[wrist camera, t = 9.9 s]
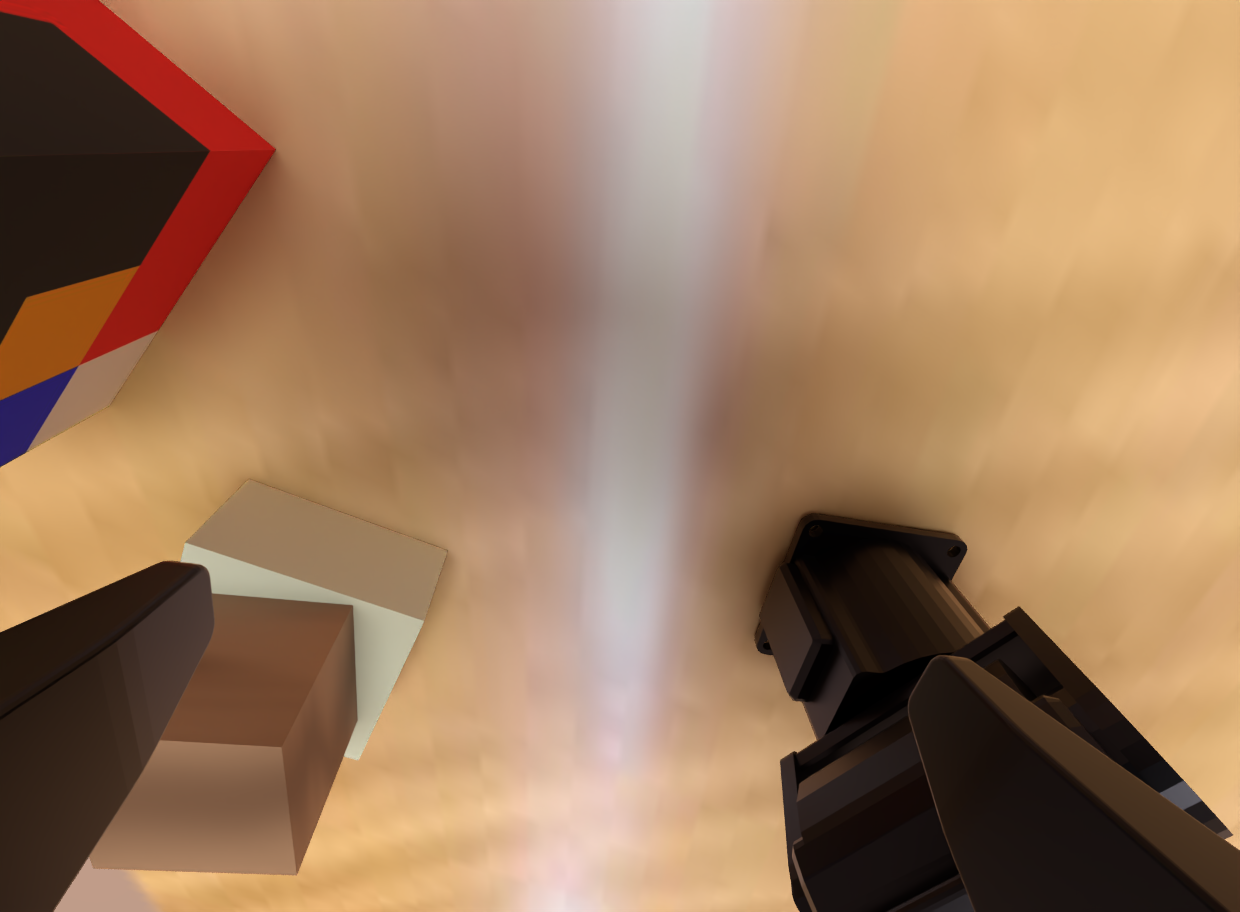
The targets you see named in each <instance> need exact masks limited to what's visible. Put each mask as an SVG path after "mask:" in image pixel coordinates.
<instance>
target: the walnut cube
mask: <svg viewBox="0 0 1240 912" xmlns="http://www.w3.org/2000/svg"><path fill="white" fill-rule="evenodd" d="M212 598H213V607H214V616H215V626H214V631H213V635H212V638H211V640H210V643H209V645H208V647H207V649H206V651H205V653H204V655H203V657H202V659H201V660H200V662H199V664H198V666H197V668H196V670H195V672H194V674H193V676H192V678H191V680H190V682H189V684H188V686H187V688H186V690H185V692H184V694H183V696H182V698H181V700H180V702H179V704H178V706H177V708H176V710H175V712H174V713H173V715H172V717H171V719H170V721H169V723H168V725H167V727H166V729H165V731H164V733H163V735H162V737H161V739H160V741H159V743H158V745H157V747H156V749H155V751H154V752H153V754H152V756H151V758H150V760H149V762H148V764H147V765H146V767H145V769H144V771H143V773H142V774H141V776H140V777H139V779H138V781H137V782H136V784H135V786H134V787H133V789H132V791H131V792H130V794H129V795H128V797H127V798H126V800H125V802H124V803H123V805H122V806H121V808H120V809H119V811H118V812H117V814H116V816H115V817H114V819H113V820H112V822H111V823H110V825H109V826H108V828H107V829H106V831H105V833H104V834H103V836H102V837H101V839H100V840H99V842H98V843H97V845H96V847H95V848H94V850H93V851H92V853H91V854H90V856H89V857H90V860H91V863H92V866H93V868H96V869H125V870H154V871H183V872H212V873H241V874H270V875H297V874H298V871H299V868H300V866H301V863H302V861H303V858H304V856H305V853H306V851H307V848H308V846H309V843H310V840H311V838H312V835H313V833H314V830H315V828H316V825H317V823H318V820H319V818H320V815H321V812H322V810H323V807H324V805H325V802H326V800H327V797H328V795H329V792H330V790H331V787H332V784H333V782H334V779H335V777H336V774H337V772H338V769H339V767H340V764H341V762H342V759H343V756H344V754H345V751H346V749H347V746H348V744H349V741H350V739H351V736H352V734H353V731H354V728H355V726H356V723H357V721H358V717H357V692H356V666H355V641H354V616H353V605H345V604H333V603H321V602H310V601H298V600H286V599H274V598H262V597H250V596H238V595H226V594H214V593H212Z"/></svg>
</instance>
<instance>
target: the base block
mask: <svg viewBox="0 0 1240 912" xmlns="http://www.w3.org/2000/svg"><path fill="white" fill-rule="evenodd" d="M446 554H447V550H445V549H442V548H439V547H436V546H434V545H431V544H428V543H425V542H422V541H420V540H417V539H414V538H411V537H409V536H406V535H403V534H400V533H397V532H395V531H392V530H389V529H386V528H384V527H381V526H378V525H375V524H373V523H370V522H367V521H364V520H361V519H359V518H356V517H353V516H350V515H348V514H345V513H342V512H339V511H336V510H334V509H331V508H328V507H325V506H323V505H320V504H317V503H314V502H312V501H309V500H306V499H303V498H300V497H298V496H295V495H292V494H289V493H287V492H284V491H281V490H278V489H275V488H273V487H270V486H267V485H264V484H262V483H259V482H256V481H253V480H251V479H248V480H247V481H246V482H245V483H244V484H243V485H242V486H241V487H240V488H239V489H238V490H237V491H236V492H235V493H234V494H233V495H232V496H231V497H230V498H229V499H228V500H227V501H226V502H225V503H224V504H223V505H222V506H221V507H220V508H219V509H218V510H217V511H216V512H215V513H214V514H213V515H212V516H211V517H210V518H209V519H208V520H207V521H206V522H205V523H204V524H203V525H202V526H201V527H200V528H199V529H198V530H197V531H196V532H195V533H194V534H193V535H192V536H191V537H190V538H189V539H188V540H187V541H186V542H185V545H184V549H183V553H182V557H181V561H180V562H186V563H194V564H200V565H203V566H205V567H206V568H207V570H208V571H209V574H210V580H211V589H212V593H214V594H226V595H238V596H250V597H262V598H274V599H286V600H298V601H310V602H321V603H333V604H345V605H353V616H354V641H355V666H356V692H357V717H358V721H357V723H356V726H355V728H354V731H353V734H352V736H351V739H350V741H349V744H348V746H347V749H346V751H345V754H344V757H347V758H351V759H355V760H359V758H360V756H361V754H362V752H363V750H364V748H365V746H366V744H367V741H368V739H369V737H370V735H371V733H372V731H373V729H374V727H375V724H376V722H377V720H378V718H379V716H380V714H381V712H382V710H383V708H384V705H385V703H386V701H387V699H388V697H389V695H390V693H391V691H392V689H393V686H394V684H395V682H396V680H397V678H398V676H399V674H400V672H401V670H402V667H403V665H404V663H405V661H406V659H407V657H408V655H409V653H410V651H411V648H412V646H413V644H414V642H415V640H416V638H417V636H418V634H419V632H420V629H421V627H422V625H423V623H424V621H425V618H426V615H427V612H428V609H429V606H430V603H431V600H432V597H433V594H434V591H435V588H436V585H437V582H438V579H439V576H440V573H441V569H442V566H443V563H444V560H445V557H446Z"/></svg>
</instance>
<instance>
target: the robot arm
mask: <svg viewBox="0 0 1240 912" xmlns="http://www.w3.org/2000/svg"><path fill="white" fill-rule="evenodd" d="M816 525H819V526H818V528H817V529H816V530H814V531H809V530H810V528H811V527H813V526H816ZM953 546H954V547H953ZM951 547H953V549H951V550H949V548H951ZM948 550H949V551H948ZM966 552H967V545H966V544H965V543H964V542H963V541H962V540H961V539H960V538H959V537H958V536H956V535H953V534H947V533H940V532H934V531H927V530H920V529H914V528H907V527H901V526H894V525H888V524H881V523H874V522H868V521H861V520H855V519H848V518H841V517H835V516H828V515H822V514H810V515H807V516H805V517H804V518H803V519H802V520H801V521H800V523H799V525H798V528H797V530H796V533H795V535H794V538H793V541H792V543H791V546H790V548H789V551H788V553H787V556H786V558H785V561H784V562H783V563H782V564H781V565H780V566H779V567H778V568H777V571H776V573H775V576H774V578H773V581H772V584H771V586H770V589H769V591H768V594H767V596H766V599H765V602H764V604H763V607H762V609H761V612H760V615H759V617H760V620H761V622H760V625H759V627H758V630H757V632H756V635H755V639H754V641H755V643H756V646H757V649H758V651H759V652H760V653H763V654H767V655H774V658H775V660H776V663H777V666H778V668H779V671H780V674H781V677H782V679H783V682H784V685H785V687H786V690H787V693H788V694H789V696H790V697H791V698H792V700H793V701H801V702H802V703H803V705H804V708H805V711H806V713H807V716H808V718H809V721H810V723H811V726H812V728H813V731H814V734H815V736H816V739H817V741H815V742H814V743H812V744H811V745H809V746H807V747H806V748H804V749H803V750H801V751H800V752H798V753H797V752H795V751H794V752H792V753H790V754H789V755H787V756H786V757H784V758H783V759H781V760H780V765H781V778H782V790H783V803H784V816H785V828H786V841H787V854H788V866H789V872H790V879H791V887H792V895H793V899H794V902H795V904H796V906H797V908H798V910H799V911H800V912H1240V850H1238V849H1237V848H1236V847H1234V846H1233V845H1231V844H1230V843H1229V842H1227V841H1226V840H1224V839H1226V838H1228V837H1230V836H1233V834H1232V833H1231V832H1230V831H1229V830H1228V829H1227V827H1226V826H1225V825H1224V824H1223V823H1222V822H1221V821H1220V820H1219V819H1218V817H1217V816H1216V815H1215V814H1214V813H1213V812H1212V811H1211V810H1210V809H1209V807H1208V806H1207V805H1206V804H1205V803H1204V802H1203V801H1202V800H1201V799H1200V798H1199V797H1198V795H1197V794H1196V793H1195V792H1194V791H1193V790H1192V789H1191V788H1190V787H1189V786H1188V785H1187V783H1186V782H1185V781H1184V780H1183V779H1182V778H1181V777H1180V776H1179V775H1178V774H1177V773H1176V772H1175V770H1174V769H1173V768H1172V767H1171V766H1170V765H1169V764H1168V763H1167V762H1166V761H1165V760H1164V759H1163V757H1162V756H1161V755H1160V754H1159V753H1158V752H1157V751H1156V750H1155V749H1154V748H1153V747H1152V746H1151V745H1150V744H1149V742H1148V741H1147V740H1146V739H1145V738H1144V737H1143V736H1142V735H1141V734H1140V733H1139V732H1138V731H1137V730H1136V728H1135V727H1134V726H1133V725H1132V724H1131V723H1130V722H1129V721H1128V720H1127V719H1126V718H1125V717H1124V716H1123V715H1122V714H1121V712H1120V711H1119V710H1118V709H1117V708H1116V707H1115V706H1114V705H1113V704H1112V703H1111V702H1110V701H1109V700H1108V699H1107V698H1106V697H1105V696H1104V694H1103V693H1102V692H1101V691H1100V690H1099V689H1098V688H1097V687H1096V686H1095V685H1094V684H1093V683H1092V682H1091V681H1090V680H1089V679H1088V678H1087V677H1086V676H1085V675H1084V674H1083V672H1082V671H1081V670H1080V669H1079V668H1078V667H1077V666H1076V665H1075V664H1074V663H1073V662H1072V661H1071V660H1070V659H1069V658H1068V657H1067V656H1066V655H1065V654H1064V653H1063V652H1062V651H1061V649H1060V648H1059V647H1058V646H1057V645H1056V644H1055V643H1054V642H1053V641H1052V640H1051V639H1050V638H1049V637H1048V636H1047V635H1046V634H1045V633H1044V632H1043V631H1042V630H1041V629H1040V628H1039V626H1038V625H1037V624H1036V623H1035V622H1034V621H1033V620H1032V619H1031V618H1030V617H1029V616H1028V615H1027V614H1026V613H1025V612H1024V611H1023V610H1022V609H1021V608H1020V607H1017V608H1015V609H1014V610H1012V611H1011V612H1009V613H1008V614H1006V615H1005V616H1003V618H1004V619H1005V620H1004V621H1002V622H1000V623H999V624H997V625H996V626H994V627H993V628H990V627H989V626H988V624H987V623H986V622H985V621H984V620H983V619H982V617H981V616H980V615H979V614H978V613H977V611H976V610H975V609H974V608H973V607H972V605H971V604H970V603H969V602H968V601H967V599H966V598H965V597H964V596H963V595H962V593H961V592H960V591H959V590H958V589H957V587H956V586H955V585H954V584H953V583H952V582H951V580H952V578H953V576H954V574H955V573H956V571H957V569H958V567H959V565H960V563H961V562H962V560H963V558H964V556H965V554H966ZM214 626H215V616H214V607H213V598H212V589H211V580H210V574H209V571H208V570H207V568H206V567H205V566H203V565H200V564H194V563H186V562H178V561H163V562H160V563H157V564H155V565H153V566H150V567H148V568H146V569H143V570H141V571H139V572H137V573H134V574H132V575H130V576H128V577H125V578H123V579H121V580H118V581H116V582H114V583H112V584H109V585H107V586H105V587H103V588H100V589H98V590H96V591H93V592H91V593H89V594H87V595H84V596H82V597H80V598H78V599H75V600H73V601H71V602H68V603H66V604H64V605H62V606H59V607H57V608H55V609H52V610H50V611H48V612H46V613H43V614H41V615H39V616H37V617H34V618H32V619H30V620H27V621H25V622H23V623H21V624H18V625H16V626H14V627H12V628H9V629H7V630H5V631H2V632H0V912H54V910H55V909H56V907H57V905H58V904H59V902H60V901H61V899H62V897H63V896H64V894H65V893H66V891H67V890H68V888H69V887H70V885H71V884H72V882H73V881H74V879H75V878H76V876H77V874H78V873H79V871H80V870H81V868H82V867H83V865H84V864H85V862H86V860H87V859H88V857H89V856H90V854H91V853H92V851H93V850H94V848H95V847H96V845H97V843H98V842H99V840H100V839H101V837H102V836H103V834H104V833H105V831H106V829H107V828H108V826H109V825H110V823H111V822H112V820H113V819H114V817H115V816H116V814H117V812H118V811H119V809H120V808H121V806H122V805H123V803H124V802H125V800H126V798H127V797H128V795H129V794H130V792H131V791H132V789H133V787H134V786H135V784H136V782H137V781H138V779H139V777H140V776H141V774H142V773H143V771H144V769H145V767H146V765H147V764H148V762H149V760H150V758H151V756H152V754H153V752H154V751H155V749H156V747H157V745H158V743H159V741H160V739H161V737H162V735H163V733H164V731H165V729H166V727H167V725H168V723H169V721H170V719H171V717H172V715H173V713H174V712H175V710H176V708H177V706H178V704H179V702H180V700H181V698H182V696H183V694H184V692H185V690H186V688H187V686H188V684H189V682H190V680H191V678H192V676H193V674H194V672H195V670H196V668H197V666H198V664H199V662H200V660H201V659H202V657H203V655H204V653H205V651H206V649H207V647H208V645H209V643H210V640H211V638H212V635H213V631H214ZM766 641H768V642H767V643H764V642H766Z"/></svg>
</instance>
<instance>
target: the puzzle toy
mask: <svg viewBox="0 0 1240 912" xmlns="http://www.w3.org/2000/svg"><path fill="white" fill-rule="evenodd" d="M275 150H276V149H275V148H274V147H272V146H271V145H270V144H269V143H268V142H266V141H265V140H264V139H263V138H262V137H261V136H259V135H258V134H257V133H256V132H255V131H253V130H252V129H251V128H250V127H249V126H247V125H246V124H245V123H244V122H243V121H241V120H240V119H239V118H238V117H237V116H236V115H234V114H233V113H232V112H231V111H230V110H228V109H227V108H226V107H225V106H224V105H222V104H221V103H220V102H219V101H218V100H216V99H215V98H214V97H213V96H212V95H211V94H209V93H208V92H207V91H206V90H205V89H203V88H202V87H201V86H200V85H199V84H197V83H196V82H195V81H194V80H193V79H192V78H190V77H189V76H188V75H187V74H186V73H184V72H183V71H182V70H181V69H180V68H178V67H177V66H176V65H175V64H174V63H172V62H171V61H170V60H169V59H168V58H167V57H165V56H164V55H163V54H162V53H161V52H159V51H158V50H157V49H156V48H155V47H153V46H152V45H151V44H150V43H149V42H148V41H146V40H145V39H144V38H143V37H142V36H140V35H139V34H138V33H137V32H136V31H134V30H133V29H132V28H131V27H130V26H128V25H127V24H126V23H125V22H124V21H123V20H121V19H120V18H119V17H118V16H117V15H115V14H114V13H113V12H112V11H111V10H109V9H108V8H107V7H106V6H105V5H104V4H102V3H101V2H100V1H99V0H0V467H1V466H3V465H5V464H7V463H8V462H10V461H12V460H14V459H16V458H17V457H19V456H21V455H23V454H25V453H26V452H28V451H30V450H32V449H34V448H35V447H37V446H39V445H41V444H43V443H44V442H46V441H48V440H50V439H51V438H53V437H55V436H57V435H59V434H60V433H62V432H64V431H66V430H68V429H69V428H71V427H73V426H75V425H77V424H78V423H80V422H82V421H84V420H85V419H87V418H89V417H91V416H93V415H94V414H96V413H98V412H100V411H102V410H103V409H105V408H107V407H109V406H110V404H111V403H112V401H113V399H114V398H115V396H116V395H117V393H118V392H119V390H120V389H121V387H122V386H123V384H124V383H125V381H126V379H127V378H128V376H129V375H130V373H131V372H132V370H133V369H134V367H135V366H136V364H137V363H138V361H139V359H140V358H141V356H142V355H143V353H144V352H145V350H146V349H147V347H148V346H149V344H150V342H151V341H152V339H153V338H154V336H155V335H156V333H157V332H158V330H159V329H160V327H161V326H162V324H163V322H164V321H165V319H166V318H167V316H168V315H169V313H170V312H171V310H172V309H173V307H174V306H175V304H176V302H177V301H178V299H179V298H180V296H181V295H182V293H183V292H184V290H185V289H186V287H187V286H188V284H189V282H190V281H191V279H192V278H193V276H194V275H195V273H196V272H197V270H198V269H199V267H200V265H201V264H202V262H203V261H204V259H205V258H206V256H207V255H208V253H209V252H210V250H211V249H212V247H213V245H214V244H215V242H216V241H217V239H218V238H219V236H220V235H221V233H222V232H223V230H224V229H225V227H226V225H227V224H228V222H229V221H230V219H231V218H232V216H233V215H234V213H235V212H236V210H237V209H238V207H239V205H240V204H241V202H242V201H243V199H244V198H245V196H246V195H247V193H248V192H249V190H250V189H251V187H252V185H253V184H254V182H255V181H256V179H257V178H258V176H259V175H260V173H261V172H262V170H263V168H264V167H265V165H266V164H267V162H268V161H269V159H270V158H271V156H272V155H273V153H274V152H275Z"/></svg>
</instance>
